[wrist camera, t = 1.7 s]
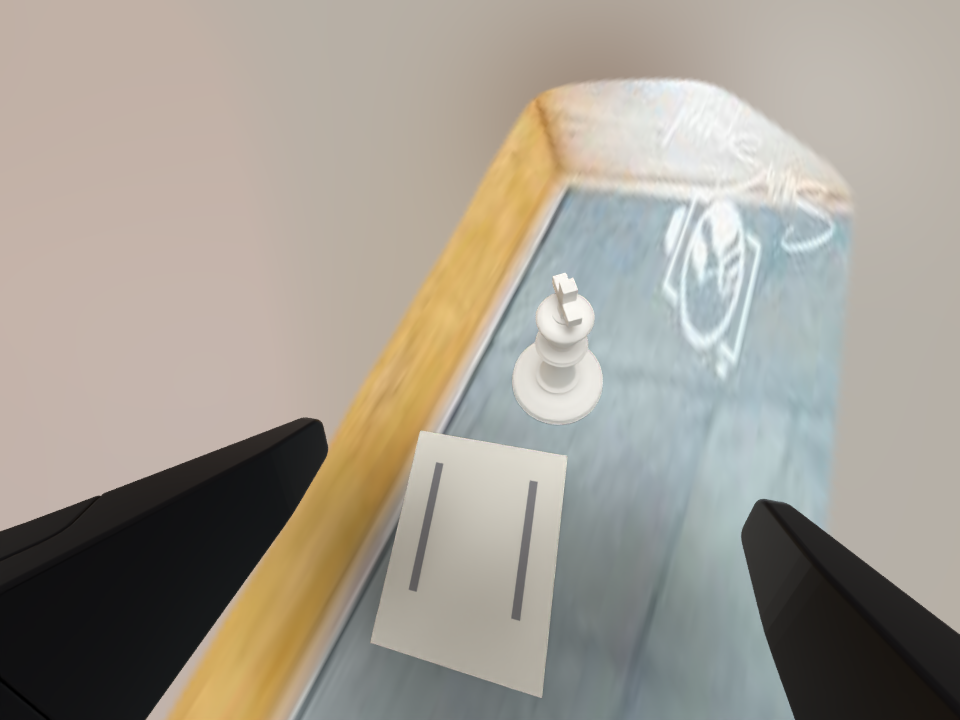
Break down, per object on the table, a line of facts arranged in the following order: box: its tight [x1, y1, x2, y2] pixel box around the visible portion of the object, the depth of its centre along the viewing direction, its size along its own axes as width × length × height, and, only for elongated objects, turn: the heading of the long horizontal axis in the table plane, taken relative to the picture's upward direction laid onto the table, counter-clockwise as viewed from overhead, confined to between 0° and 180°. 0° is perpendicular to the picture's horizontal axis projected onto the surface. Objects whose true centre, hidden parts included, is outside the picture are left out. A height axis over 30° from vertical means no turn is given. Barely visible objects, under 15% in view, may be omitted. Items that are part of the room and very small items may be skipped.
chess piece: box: [512, 273, 603, 425], centre depth 15 cm, size 5×5×10 cm
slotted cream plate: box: [370, 430, 567, 698], centre depth 17 cm, size 10×8×1 cm
